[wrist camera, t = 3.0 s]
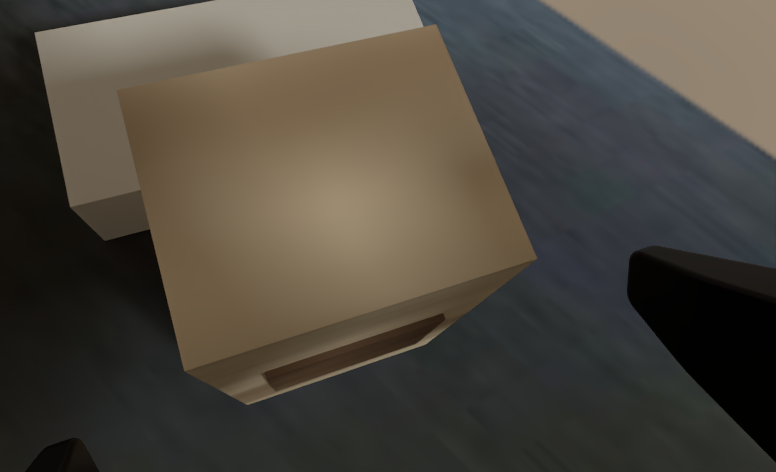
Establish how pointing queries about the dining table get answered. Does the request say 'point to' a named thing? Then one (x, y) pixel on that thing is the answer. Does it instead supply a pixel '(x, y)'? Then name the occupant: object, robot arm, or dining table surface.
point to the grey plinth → (171, 60)
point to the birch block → (319, 209)
